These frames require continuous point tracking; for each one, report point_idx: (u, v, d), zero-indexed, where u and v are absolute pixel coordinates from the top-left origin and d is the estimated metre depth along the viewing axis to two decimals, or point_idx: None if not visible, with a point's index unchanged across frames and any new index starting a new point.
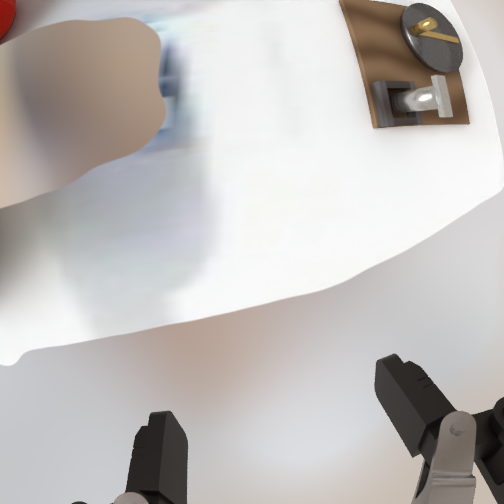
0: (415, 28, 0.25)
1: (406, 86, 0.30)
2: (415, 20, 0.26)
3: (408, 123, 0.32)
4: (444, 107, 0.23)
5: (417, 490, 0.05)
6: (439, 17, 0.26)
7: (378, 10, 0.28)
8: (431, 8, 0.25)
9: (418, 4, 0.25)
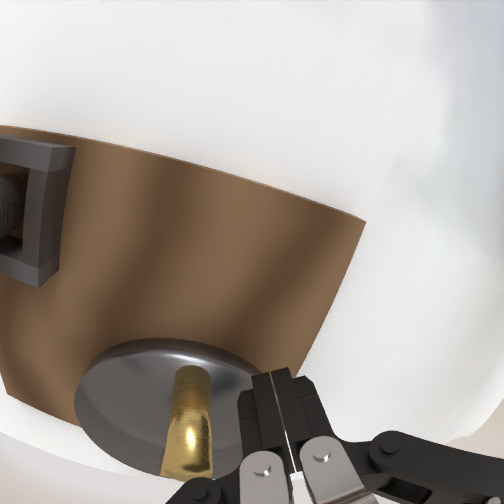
0: (191, 393, 0.10)
1: (25, 248, 0.10)
2: (230, 406, 0.13)
3: None
4: None
5: None
6: (234, 464, 0.15)
7: (293, 314, 0.15)
8: None
9: None
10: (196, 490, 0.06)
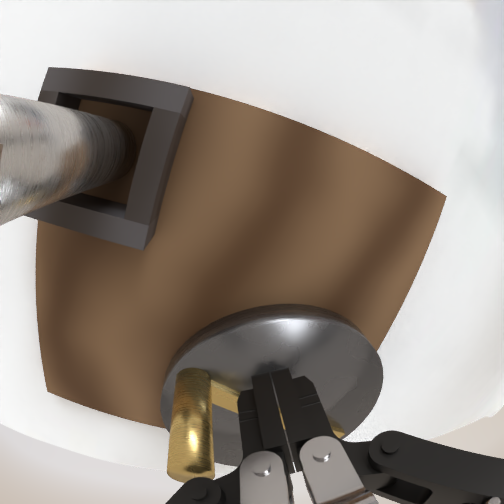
0: (174, 402, 0.10)
1: (133, 201, 0.10)
2: (249, 364, 0.12)
3: None
4: None
5: None
6: (360, 381, 0.14)
7: (389, 279, 0.15)
8: (367, 355, 0.13)
9: (334, 330, 0.12)
10: (196, 490, 0.06)
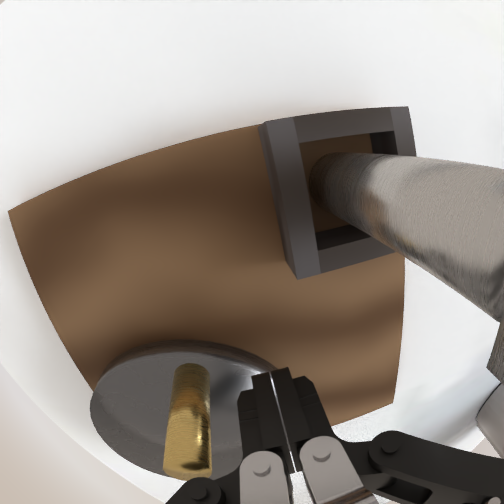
0: (186, 391, 0.10)
1: (335, 251, 0.11)
2: None
3: (334, 115, 0.10)
4: None
5: None
6: None
7: None
8: None
9: None
10: (196, 490, 0.06)
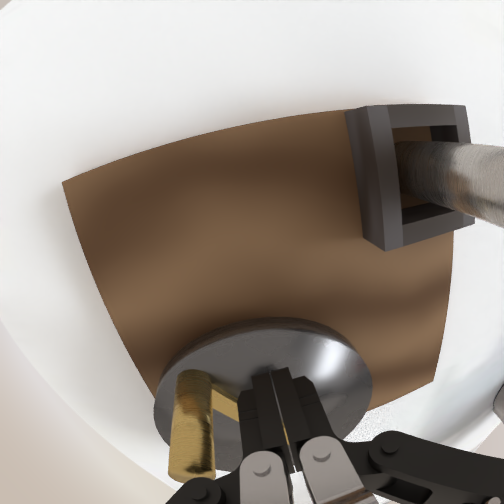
0: (176, 402, 0.10)
1: (415, 226, 0.12)
2: (252, 372, 0.12)
3: (416, 107, 0.10)
4: None
5: None
6: (350, 398, 0.14)
7: (377, 394, 0.18)
8: (361, 374, 0.13)
9: (335, 348, 0.12)
10: (196, 490, 0.06)
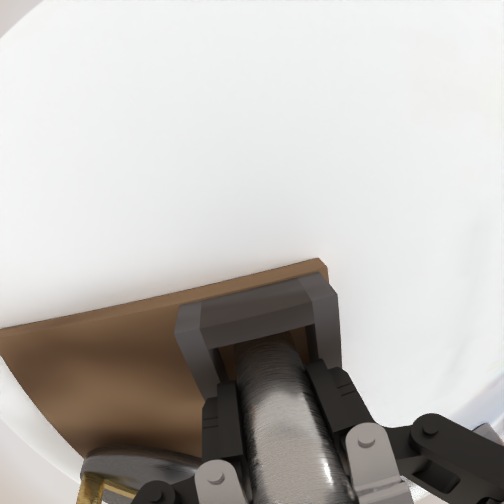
0: (79, 491, 0.11)
1: None
2: (123, 477, 0.13)
3: (243, 322, 0.10)
4: None
5: None
6: None
7: None
8: None
9: (173, 472, 0.13)
10: (153, 492, 0.06)
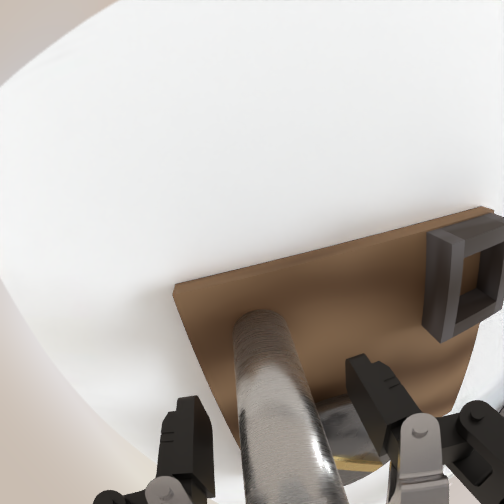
0: None
1: (462, 323, 0.14)
2: (327, 437, 0.14)
3: (483, 236, 0.12)
4: None
5: (388, 493, 0.06)
6: None
7: None
8: None
9: None
10: (106, 501, 0.05)
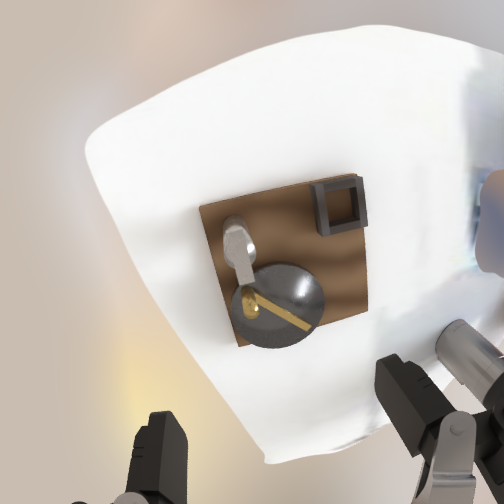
0: (242, 295, 0.33)
1: (335, 227, 0.34)
2: (267, 283, 0.35)
3: (336, 183, 0.33)
4: (244, 242, 0.24)
5: (417, 490, 0.05)
6: (313, 295, 0.36)
7: (333, 311, 0.41)
8: (314, 282, 0.36)
9: (298, 270, 0.35)
10: None
